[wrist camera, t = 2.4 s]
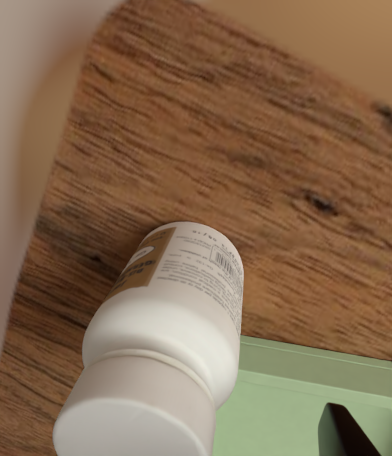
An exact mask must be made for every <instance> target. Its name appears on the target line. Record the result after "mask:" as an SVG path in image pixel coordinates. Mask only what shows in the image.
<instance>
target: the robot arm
mask: <svg viewBox="0 0 392 456" xmlns="http://www.w3.org/2000/svg"><path fill="white" fill-rule="evenodd" d="M318 445H319V456H381V454H380V453H379V451H378V450H377V449H376V447H375V446H374V445H373V443H372V442H371V441H370V439H369V438H368V437H367V435H366V434H365V432H364V431H363V430H362V428H361V427H360V426H359V424H358V423H357V422H356V420H355V419H354V417H353V416H352V415H351V413H350V412H349V411H348V409H347V408H346V407H345V406H344V405H341V404H336V403H331V402H328V403H327V404H326V405H325V407H324V410H323V413H322V415H321V418H320V421H319V424H318Z"/></svg>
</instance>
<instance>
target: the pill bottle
mask: <svg viewBox="0 0 392 456" xmlns="http://www.w3.org/2000/svg"><path fill="white" fill-rule="evenodd" d="M243 280H244V271H243V265H242V261H241V258H240V256H239V254H238V252H237V250H236V249H235V247H234V246H233V244H232V243H231V242H230V241H229V240H228V239H227V237H225V236H224V235H223V234H221V233H220V232H218V231H216V230H215V229H213V228H211V227H208V226H206V225H203V224H199V223H194V222H173V223H169V224H166V225H163V226H160V227H158V228H157V229H155V230H153V231H152V232H150V233H149V234H148V235H147V236H146V237H145V238H144V239H143V241H142V242H141V244H140V245H139V247H138V248H137V250H136V251H135V253H134V255H133V256H132V257H131V259H130V261H129V262H128V264H127V266H126V267H125V269H124V270H123V272H122V273H121V275H120V276H119V278H118V279H117V281H116V282H115V284H114V286H113V287H112V289H111V290H110V292H109V293H108V295H107V296H106V298H105V300H104V301H103V303H102V304H101V305H100V307H99V308H98V310H97V312H96V313H95V315H94V317H93V318H92V320H91V322H90V323H89V326H88V328H87V330H86V332H85V335H84V339H83V345H82V358H83V364H84V370H83V371H82V373H81V375H80V377H79V379H78V380H77V382H76V384H75V385H74V387H73V389H72V391H71V393H70V395H69V396H68V398H67V400H66V402H65V404H64V406H63V408H62V409H61V411H60V413H59V415H58V417H57V419H56V422H55V425H54V428H53V444H54V448H55V450H56V453H57V455H58V456H212V451H213V442H214V435H215V430H216V411H217V410H218V409H219V408H220V407H222V405H223V404H224V403H225V402H226V401H227V399H228V398H229V396H230V395H231V393H232V391H233V389H234V386H235V383H236V380H237V374H238V365H239V352H240V332H241V314H242V299H243Z"/></svg>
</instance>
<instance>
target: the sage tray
mask: <svg viewBox="0 0 392 456" xmlns="http://www.w3.org/2000/svg"><path fill="white" fill-rule="evenodd" d="M328 402H331V403H336V404H341V405H344V406H345V407H346V408H347V409H348V411H349V412H350V413H351V415H352V416H353V417H354V419H355V420H356V422H357V423H358V424H359V426H360V427H361V428H362V430H363V431H364V432H365V434H366V435H367V437H368V438H369V439H370V441H371V442H372V443H373V445H374V446H375V447H376V449H377V450H378V451H379V453H380V454H381V456H392V361H386V360H380V359H375V358H369V357H363V356H358V355H352V354H346V353H340V352H335V351H329V350H323V349H318V348H312V347H306V346H301V345H295V344H289V343H284V342H278V341H272V340H266V339H261V338H255V337H249V336H244V335H240V352H239V365H238V374H237V380H236V383H235V386H234V389H233V391H232V393H231V395H230V396H229V398H228V399H227V401H226V402H225V403H224V404H223V405H222V407H220V408H219V409H218V410H217V411H216V430H215V435H214V442H213V451H212V456H319V445H318V424H319V421H320V418H321V415H322V413H323V410H324V407H325V405H326V404H327V403H328Z"/></svg>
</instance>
